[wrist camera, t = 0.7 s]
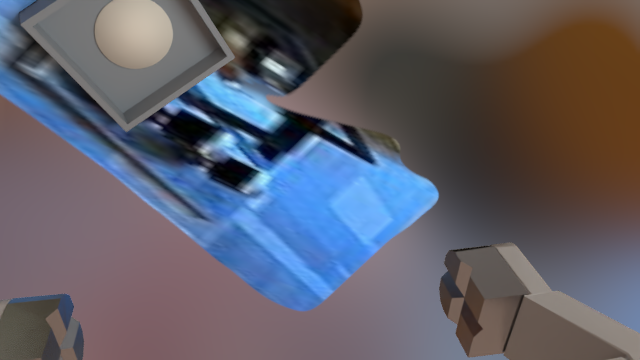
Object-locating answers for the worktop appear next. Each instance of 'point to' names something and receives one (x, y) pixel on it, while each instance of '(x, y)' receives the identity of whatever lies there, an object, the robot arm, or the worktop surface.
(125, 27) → the resting spot
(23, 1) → the worktop surface
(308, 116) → the worktop surface
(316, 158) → the worktop surface
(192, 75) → the tray
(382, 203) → the worktop surface
